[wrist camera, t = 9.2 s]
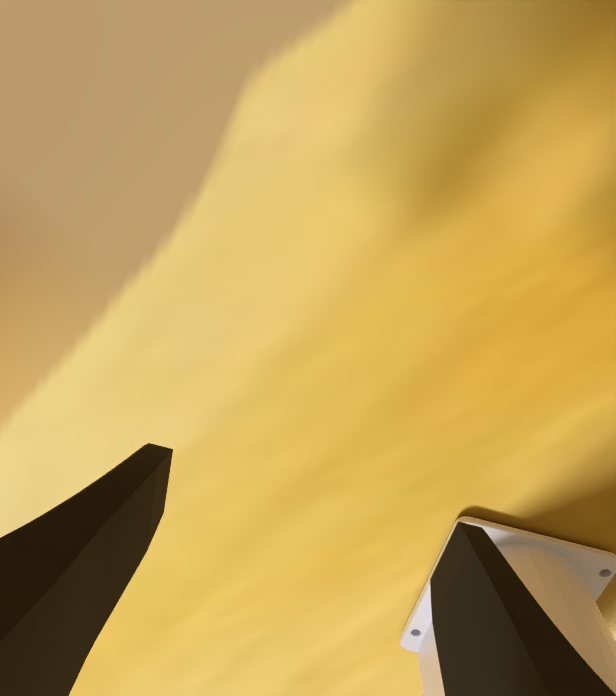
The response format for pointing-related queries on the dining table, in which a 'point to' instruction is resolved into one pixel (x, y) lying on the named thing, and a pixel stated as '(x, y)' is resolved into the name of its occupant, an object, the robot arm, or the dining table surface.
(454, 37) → the dining table surface
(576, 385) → the dining table surface
